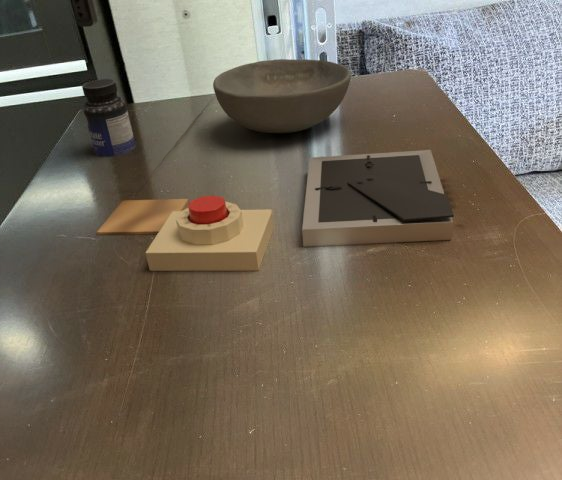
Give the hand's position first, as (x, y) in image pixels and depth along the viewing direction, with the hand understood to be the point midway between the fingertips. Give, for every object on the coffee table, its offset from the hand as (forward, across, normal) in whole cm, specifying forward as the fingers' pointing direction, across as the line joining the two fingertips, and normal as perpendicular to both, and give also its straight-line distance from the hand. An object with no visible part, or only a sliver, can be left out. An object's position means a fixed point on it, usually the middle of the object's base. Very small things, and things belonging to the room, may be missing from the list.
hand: (88, 25), depth 81 cm
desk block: (+19, +25, +21) cm, 38 cm away
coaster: (+19, +17, +10) cm, 27 cm away
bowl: (+19, -15, +22) cm, 32 cm away
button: (+15, +25, +21) cm, 36 cm away
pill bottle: (+19, -2, -2) cm, 19 cm away
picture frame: (+19, +14, +38) cm, 44 cm away
